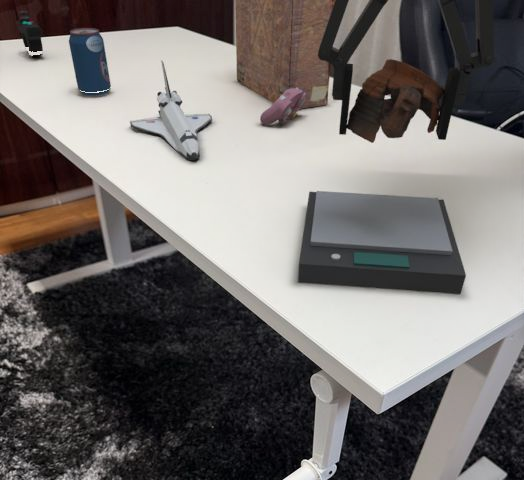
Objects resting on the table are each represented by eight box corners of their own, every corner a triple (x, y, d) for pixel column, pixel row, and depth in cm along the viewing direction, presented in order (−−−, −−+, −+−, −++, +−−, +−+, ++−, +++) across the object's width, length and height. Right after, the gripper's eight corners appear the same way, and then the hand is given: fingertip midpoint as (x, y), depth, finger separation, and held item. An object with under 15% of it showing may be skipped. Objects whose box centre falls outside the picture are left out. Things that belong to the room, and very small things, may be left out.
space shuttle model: (148, 168, 86) (139, 101, 80) (127, 120, 104) (118, 62, 98) (241, 157, 90) (239, 93, 84) (205, 112, 108) (202, 57, 102)
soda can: (115, 95, 117) (105, 32, 109) (83, 99, 114) (70, 35, 107) (107, 87, 121) (97, 26, 114) (76, 91, 119) (63, 28, 111)
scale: (439, 216, 74) (444, 194, 72) (460, 294, 60) (467, 270, 58) (308, 208, 76) (309, 187, 74) (297, 282, 61) (299, 258, 59)
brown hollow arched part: (334, 124, 64) (371, 54, 61) (400, 162, 66) (439, 96, 63) (352, 130, 54) (398, 45, 51) (430, 175, 56) (478, 96, 53)
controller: (39, 51, 148) (29, 9, 142) (50, 61, 140) (40, 16, 134) (23, 53, 146) (12, 10, 140) (33, 63, 138) (22, 18, 132)
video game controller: (275, 136, 102) (291, 104, 97) (256, 121, 102) (271, 88, 97) (298, 122, 109) (315, 91, 103) (281, 108, 109) (296, 76, 104)
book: (236, 81, 126) (232, -84, 107) (271, 76, 129) (274, -84, 110) (288, 111, 109) (295, -79, 90) (327, 105, 112) (342, -79, 93)
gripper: (560, -133, 48) (489, 127, 62) (303, -135, 50) (292, 117, 64) (588, -137, 42) (503, 150, 56) (297, -138, 44) (287, 139, 58)
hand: (391, 133), depth 60 cm, fingers closed on brown hollow arched part, 10 cm apart
